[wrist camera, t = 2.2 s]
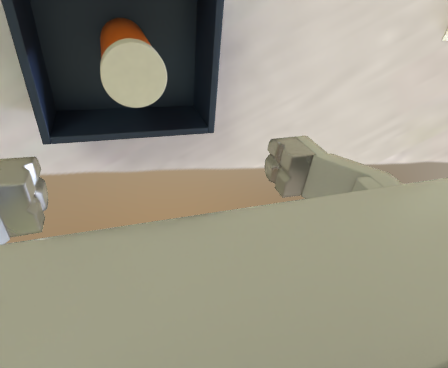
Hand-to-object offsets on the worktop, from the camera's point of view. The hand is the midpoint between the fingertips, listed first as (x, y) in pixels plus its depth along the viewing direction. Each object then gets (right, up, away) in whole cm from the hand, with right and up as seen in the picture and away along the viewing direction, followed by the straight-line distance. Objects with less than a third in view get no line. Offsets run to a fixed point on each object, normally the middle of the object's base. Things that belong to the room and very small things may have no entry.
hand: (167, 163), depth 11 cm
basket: (-7, +12, +16) cm, 21 cm away
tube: (-7, +12, +15) cm, 21 cm away
